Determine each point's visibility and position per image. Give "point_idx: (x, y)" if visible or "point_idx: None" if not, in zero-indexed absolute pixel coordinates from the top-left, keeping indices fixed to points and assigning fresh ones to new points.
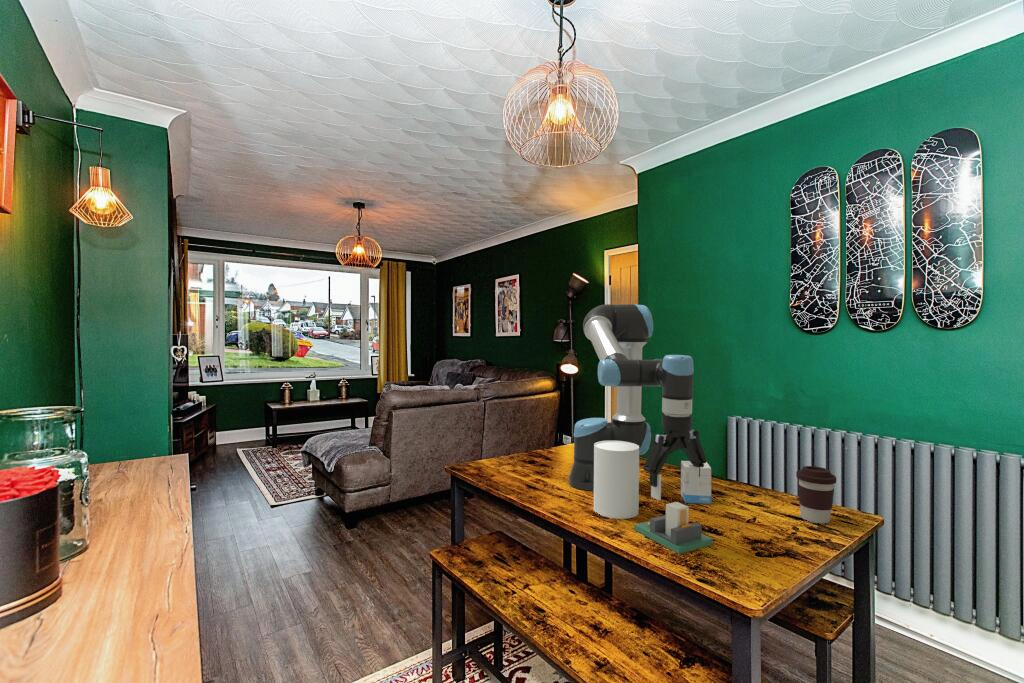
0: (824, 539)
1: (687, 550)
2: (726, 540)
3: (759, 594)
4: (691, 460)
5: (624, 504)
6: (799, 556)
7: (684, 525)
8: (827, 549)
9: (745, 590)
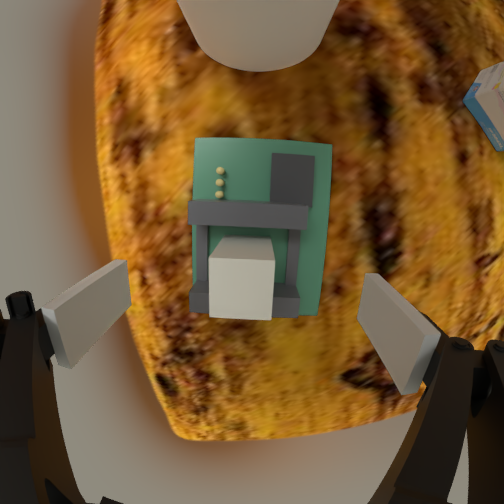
0: None
1: None
2: None
3: (214, 433)
4: (431, 384)
5: (229, 49)
6: (392, 398)
7: None
8: None
9: (204, 422)
